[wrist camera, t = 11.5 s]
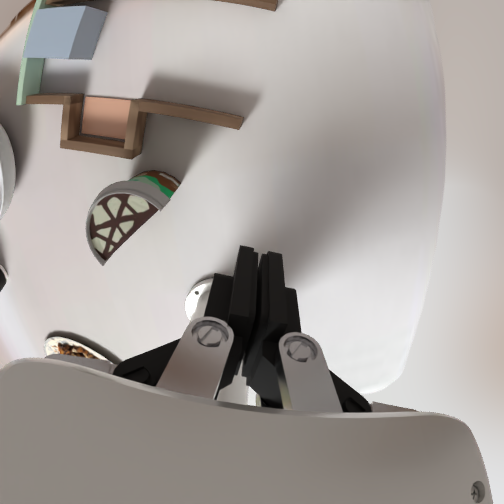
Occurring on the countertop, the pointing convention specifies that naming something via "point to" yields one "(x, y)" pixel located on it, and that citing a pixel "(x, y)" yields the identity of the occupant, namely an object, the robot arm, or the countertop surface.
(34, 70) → the end wall
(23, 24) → the countertop surface
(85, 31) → the block
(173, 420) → the robot arm
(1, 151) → the serving bowl
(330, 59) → the countertop surface
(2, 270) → the dixie cup
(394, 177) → the countertop surface
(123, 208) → the food container
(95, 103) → the tile
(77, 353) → the plate of food
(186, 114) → the channel walls
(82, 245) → the countertop surface
